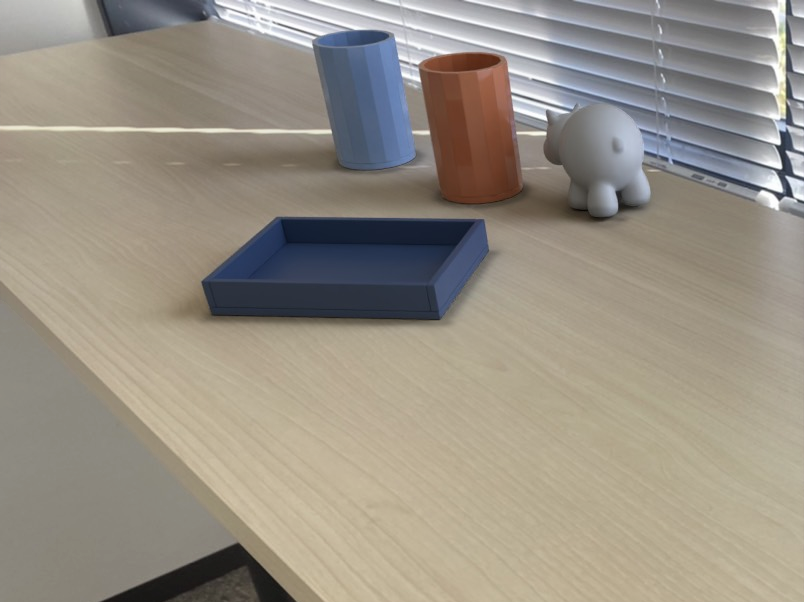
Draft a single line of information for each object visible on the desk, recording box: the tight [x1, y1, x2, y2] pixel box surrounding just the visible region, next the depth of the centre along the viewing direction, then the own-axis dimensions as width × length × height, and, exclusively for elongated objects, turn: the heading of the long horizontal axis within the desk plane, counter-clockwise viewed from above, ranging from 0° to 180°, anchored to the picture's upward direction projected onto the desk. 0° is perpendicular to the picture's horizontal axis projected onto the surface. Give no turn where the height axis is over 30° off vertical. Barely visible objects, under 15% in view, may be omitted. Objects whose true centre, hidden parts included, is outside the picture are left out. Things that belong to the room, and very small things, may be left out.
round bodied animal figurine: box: [542, 102, 651, 218], centre depth 100 cm, size 7×12×8 cm, turn 39°
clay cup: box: [417, 51, 524, 205], centre depth 102 cm, size 7×7×11 cm
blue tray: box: [200, 216, 490, 320], centre depth 88 cm, size 17×13×3 cm
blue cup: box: [311, 29, 417, 171], centre depth 110 cm, size 7×7×11 cm
